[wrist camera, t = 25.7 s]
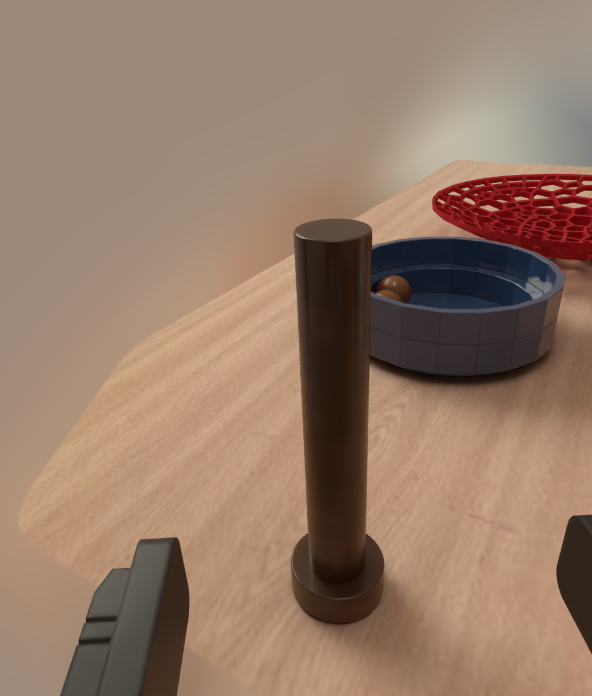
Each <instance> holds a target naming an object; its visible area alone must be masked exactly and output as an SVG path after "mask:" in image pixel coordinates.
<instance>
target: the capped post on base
mask: <svg viewBox="0 0 592 696" xmlns="http://www.w3.org/2000/svg"><path fill="white" fill-rule="evenodd" d="M294 249H295V270H296V291H297V312H298V333H299V354H300V374H301V395H302V416H303V437H304V458H305V479H306V500H307V521H308V534H306V535H305V536H304V537H303V538H301V539H300V541H299V542H298V543H297V545H296V546H295V548H294V550H293V553H292V557H291V571H292V585H293V591H294V595H295V597H296V599H297V601H298V603H299V604H300V605H301V607H302V608H303V609H304V610H305V611H306V612H308V613H309V614H310V615H312V616H313V617H315V618H317V619H320V620H322V621H326V622H330V623H348V622H353V621H356V620H359V619H361V618H363V617H365V616H366V615H368V614H369V613H370V612H371V611H372V610H373V609H374V608H375V607H376V606H377V604H378V603H379V601H380V599H381V596H382V592H383V581H384V558H383V554H382V552H381V550H380V548H379V546H378V545H377V543H376V542H375V541H374V540H373V539H372V538H371V537H370V536H368V535H367V534H366V506H367V458H368V409H369V361H370V313H371V265H372V228H371V227H370V226H369V225H368V224H366V223H363V222H360V221H356V220H348V219H324V220H317V221H311V222H308V223H304V224H302V225H300V226H298V227H297V228H296V229H295V230H294Z"/></svg>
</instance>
